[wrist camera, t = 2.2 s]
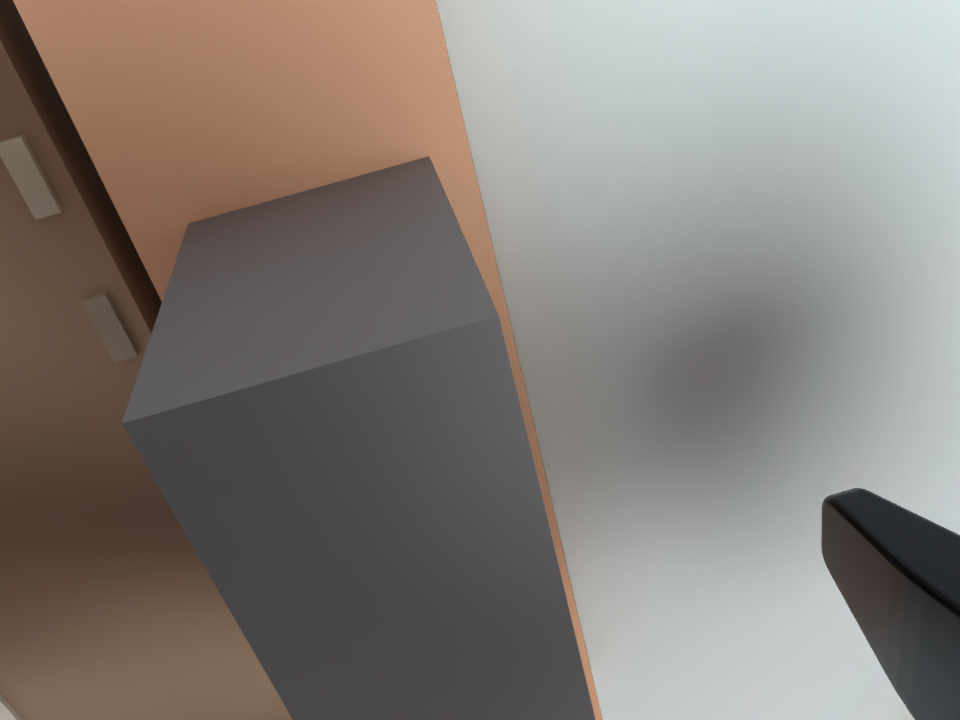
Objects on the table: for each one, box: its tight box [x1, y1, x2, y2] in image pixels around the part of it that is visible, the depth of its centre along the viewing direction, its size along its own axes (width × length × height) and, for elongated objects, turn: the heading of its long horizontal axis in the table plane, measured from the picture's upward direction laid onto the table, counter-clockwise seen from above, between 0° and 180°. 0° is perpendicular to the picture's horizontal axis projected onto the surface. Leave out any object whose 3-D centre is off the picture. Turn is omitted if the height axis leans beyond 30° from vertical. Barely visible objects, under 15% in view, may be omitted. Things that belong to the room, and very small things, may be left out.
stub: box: [13, 0, 602, 720], centre depth 11 cm, size 16×4×5 cm, turn 13°
